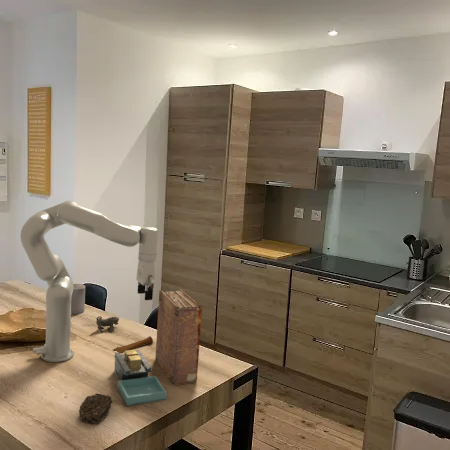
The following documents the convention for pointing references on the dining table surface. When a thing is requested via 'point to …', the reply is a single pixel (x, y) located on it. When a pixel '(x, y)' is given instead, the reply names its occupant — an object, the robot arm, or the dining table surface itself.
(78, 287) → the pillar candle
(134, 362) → the tan wooden block
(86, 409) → the dark brown rock
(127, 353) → the tan wooden cube
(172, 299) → the book
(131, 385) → the tray
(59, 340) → the robot arm
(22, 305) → the dining table surface
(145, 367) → the grey block holder
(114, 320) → the dog figurine
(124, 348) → the primitive tool
